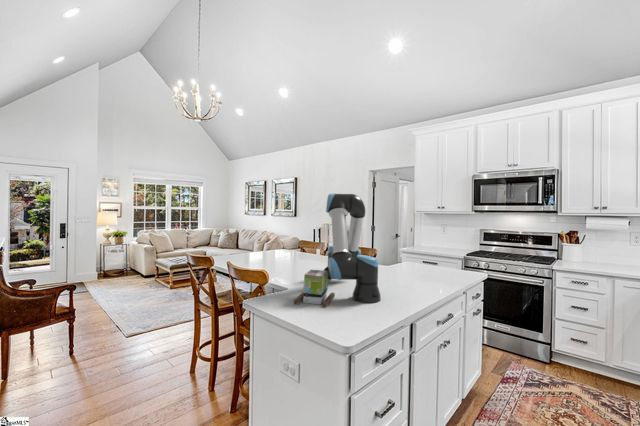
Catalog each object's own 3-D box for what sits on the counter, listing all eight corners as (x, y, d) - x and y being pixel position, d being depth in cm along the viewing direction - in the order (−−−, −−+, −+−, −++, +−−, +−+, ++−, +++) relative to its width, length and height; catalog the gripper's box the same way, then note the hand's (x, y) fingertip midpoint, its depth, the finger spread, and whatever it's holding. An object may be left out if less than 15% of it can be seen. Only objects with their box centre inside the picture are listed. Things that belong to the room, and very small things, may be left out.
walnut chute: (334, 296, 170) (334, 292, 170) (326, 307, 150) (326, 303, 150) (305, 293, 174) (305, 290, 174) (293, 304, 155) (293, 300, 155)
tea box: (322, 304, 155) (322, 275, 155) (302, 303, 157) (303, 274, 157) (327, 296, 170) (327, 269, 169) (309, 295, 172) (310, 268, 171)
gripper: (339, 278, 197) (332, 287, 174) (320, 276, 200) (310, 285, 177) (340, 266, 196) (332, 274, 174) (320, 265, 200) (310, 272, 177)
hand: (321, 280), depth 175 cm, fingers closed
